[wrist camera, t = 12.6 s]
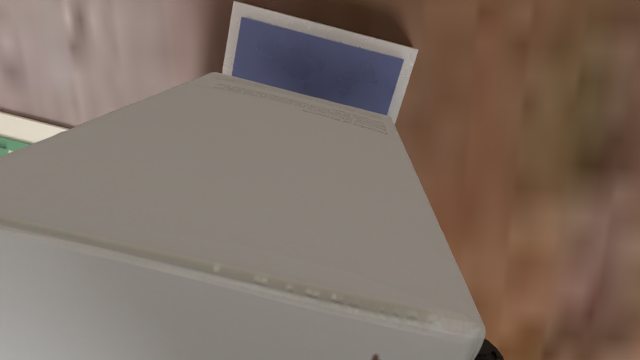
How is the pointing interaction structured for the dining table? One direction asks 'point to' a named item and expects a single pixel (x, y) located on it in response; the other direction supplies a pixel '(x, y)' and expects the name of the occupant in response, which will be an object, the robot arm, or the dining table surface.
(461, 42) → the dining table surface
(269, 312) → the supplement box
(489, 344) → the robot arm
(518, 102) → the dining table surface
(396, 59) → the ink pad
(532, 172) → the dining table surface
